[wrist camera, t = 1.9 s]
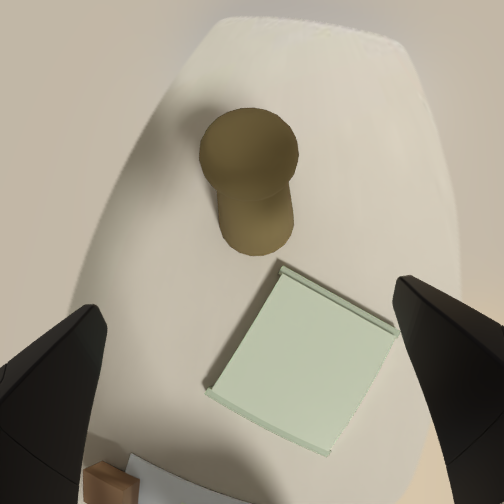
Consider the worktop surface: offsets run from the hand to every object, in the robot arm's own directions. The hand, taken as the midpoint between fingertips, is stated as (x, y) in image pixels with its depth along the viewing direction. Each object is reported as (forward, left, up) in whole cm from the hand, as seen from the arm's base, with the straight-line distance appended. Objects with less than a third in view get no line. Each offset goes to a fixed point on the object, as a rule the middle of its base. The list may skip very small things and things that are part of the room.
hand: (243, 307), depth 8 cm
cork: (+4, -7, -14) cm, 16 cm away
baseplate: (-5, +1, -14) cm, 15 cm away
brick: (+2, +20, -14) cm, 24 cm away
